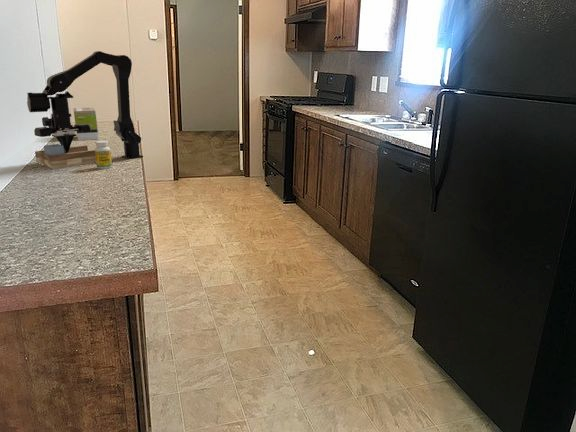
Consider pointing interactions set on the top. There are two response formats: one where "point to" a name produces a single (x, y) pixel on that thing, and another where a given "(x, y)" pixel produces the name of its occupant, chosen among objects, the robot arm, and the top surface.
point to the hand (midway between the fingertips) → (66, 153)
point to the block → (54, 149)
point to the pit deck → (67, 157)
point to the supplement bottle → (103, 155)
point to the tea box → (86, 122)
